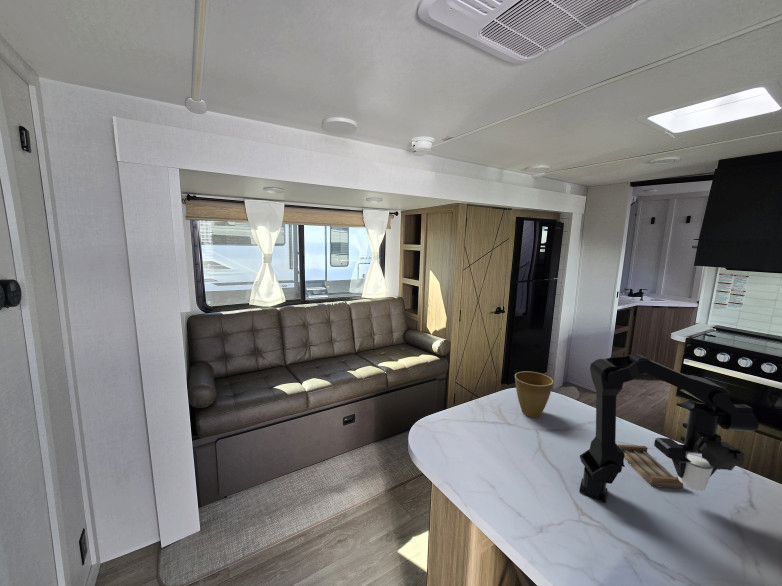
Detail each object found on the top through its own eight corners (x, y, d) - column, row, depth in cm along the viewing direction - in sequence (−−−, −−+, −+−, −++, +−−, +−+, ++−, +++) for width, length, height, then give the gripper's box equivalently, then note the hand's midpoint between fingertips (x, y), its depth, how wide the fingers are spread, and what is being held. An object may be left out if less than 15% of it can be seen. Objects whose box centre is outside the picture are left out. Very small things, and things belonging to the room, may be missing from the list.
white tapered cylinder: (691, 473, 90) (695, 451, 89) (716, 492, 84) (721, 468, 83) (668, 474, 90) (672, 452, 89) (691, 492, 83) (696, 469, 82)
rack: (682, 488, 94) (684, 479, 93) (650, 486, 94) (652, 477, 94) (644, 453, 109) (645, 446, 109) (617, 451, 110) (618, 444, 110)
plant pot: (537, 404, 143) (541, 370, 140) (557, 422, 128) (561, 385, 126) (506, 404, 142) (508, 371, 139) (522, 422, 127) (525, 385, 125)
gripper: (690, 442, 77) (680, 498, 79) (773, 447, 76) (760, 504, 78) (656, 417, 88) (648, 467, 90) (728, 421, 87) (718, 472, 89)
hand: (692, 477), depth 87 cm, fingers closed on white tapered cylinder, 6 cm apart
